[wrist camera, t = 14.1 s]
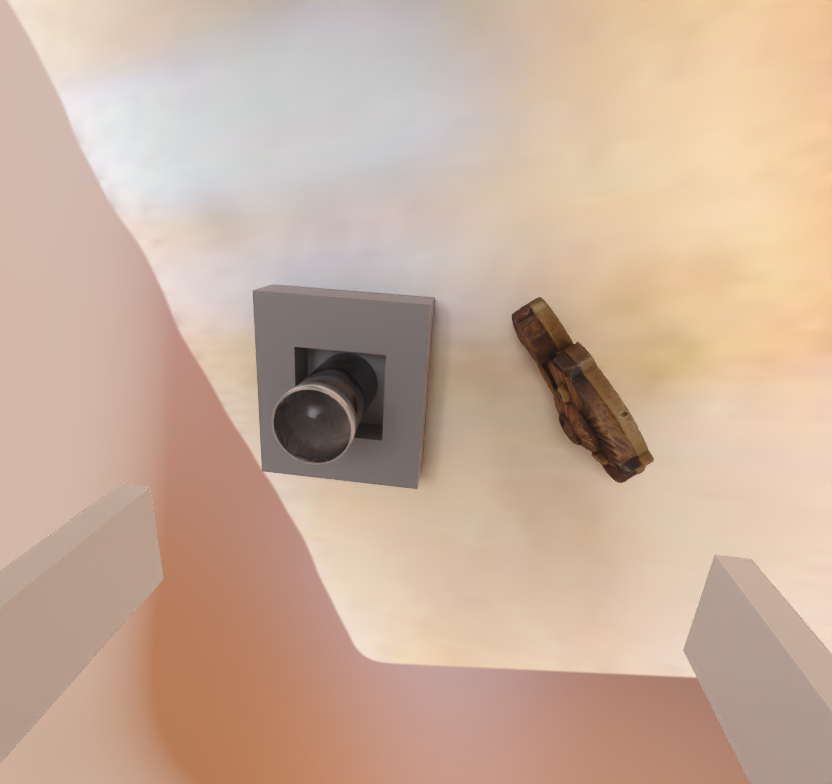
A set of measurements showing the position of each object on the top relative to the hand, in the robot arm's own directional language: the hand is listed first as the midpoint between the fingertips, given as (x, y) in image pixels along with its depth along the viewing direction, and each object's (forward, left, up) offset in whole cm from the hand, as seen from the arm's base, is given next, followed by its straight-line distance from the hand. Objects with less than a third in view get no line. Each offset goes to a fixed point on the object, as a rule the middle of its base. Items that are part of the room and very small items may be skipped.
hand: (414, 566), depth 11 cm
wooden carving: (+4, +10, -31) cm, 33 cm away
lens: (+6, -9, -30) cm, 32 cm away
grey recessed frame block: (+6, -9, -31) cm, 33 cm away
